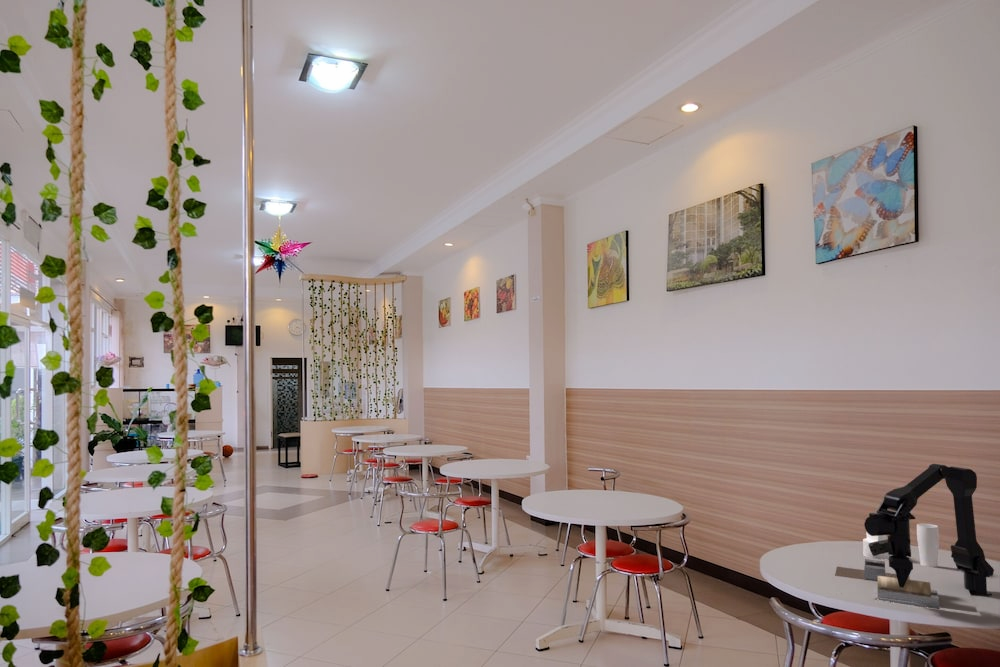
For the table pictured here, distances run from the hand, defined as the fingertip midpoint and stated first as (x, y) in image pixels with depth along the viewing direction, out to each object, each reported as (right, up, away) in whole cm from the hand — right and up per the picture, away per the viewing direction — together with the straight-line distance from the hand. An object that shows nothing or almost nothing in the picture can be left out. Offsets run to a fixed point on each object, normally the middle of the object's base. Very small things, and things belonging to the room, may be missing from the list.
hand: (901, 584), depth 207 cm
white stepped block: (+19, -7, +47) cm, 51 cm away
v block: (+1, -4, -1) cm, 5 cm away
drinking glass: (+30, -6, +33) cm, 45 cm away
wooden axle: (+1, -2, 0) cm, 2 cm away
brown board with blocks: (+3, -6, +20) cm, 21 cm away
